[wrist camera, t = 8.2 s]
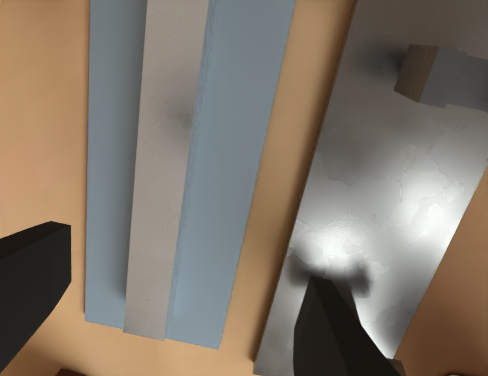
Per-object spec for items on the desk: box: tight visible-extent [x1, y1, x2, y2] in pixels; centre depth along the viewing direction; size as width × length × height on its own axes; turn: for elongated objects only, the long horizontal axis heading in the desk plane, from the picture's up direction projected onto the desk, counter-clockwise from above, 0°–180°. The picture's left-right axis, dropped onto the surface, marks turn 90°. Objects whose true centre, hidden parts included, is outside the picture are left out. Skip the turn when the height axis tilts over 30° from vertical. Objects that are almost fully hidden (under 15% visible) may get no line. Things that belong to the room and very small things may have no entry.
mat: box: [85, 0, 296, 350], centre depth 19 cm, size 24×9×1 cm, turn 169°
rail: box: [123, 0, 218, 341], centre depth 18 cm, size 20×2×2 cm, turn 169°
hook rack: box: [253, 0, 488, 376], centre depth 16 cm, size 26×8×7 cm, turn 169°
